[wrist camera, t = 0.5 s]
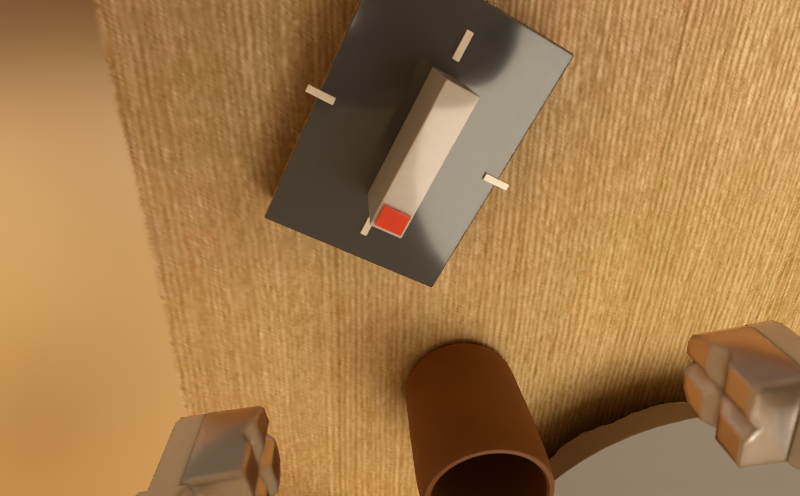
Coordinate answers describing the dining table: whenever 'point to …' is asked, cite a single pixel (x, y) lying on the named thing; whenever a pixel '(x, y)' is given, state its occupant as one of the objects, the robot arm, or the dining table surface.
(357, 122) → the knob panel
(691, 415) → the flat disc
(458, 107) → the beige slab red square
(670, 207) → the dining table surface
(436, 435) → the mug
